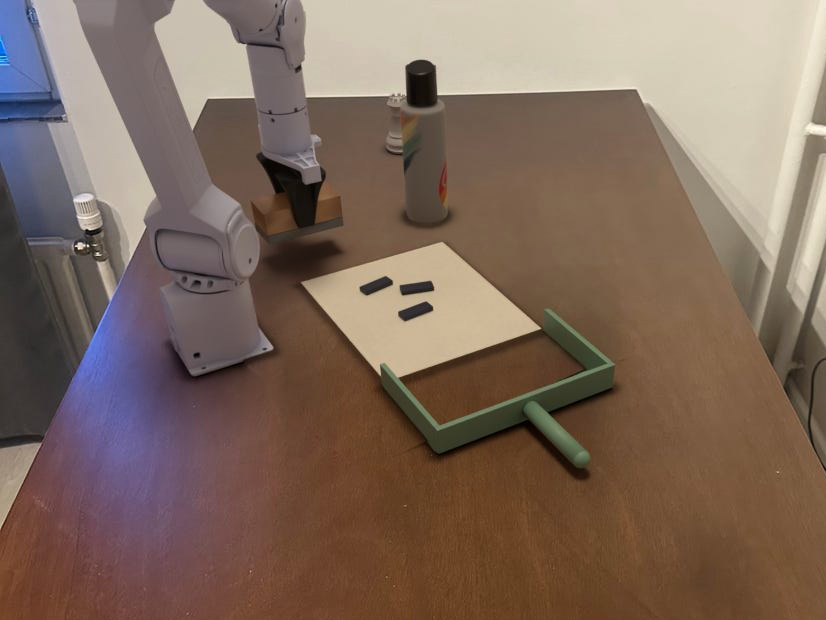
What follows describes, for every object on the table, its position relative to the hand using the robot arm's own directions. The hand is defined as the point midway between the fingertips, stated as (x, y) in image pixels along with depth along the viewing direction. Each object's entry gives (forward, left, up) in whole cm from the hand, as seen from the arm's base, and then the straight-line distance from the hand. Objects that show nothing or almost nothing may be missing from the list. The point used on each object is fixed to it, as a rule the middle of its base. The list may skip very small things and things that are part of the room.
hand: (298, 217), depth 111 cm
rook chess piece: (+26, +24, -6) cm, 36 cm away
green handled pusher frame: (+7, -41, -6) cm, 42 cm away
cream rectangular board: (+7, -18, -6) cm, 20 cm away
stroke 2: (+9, -15, -5) cm, 18 cm away
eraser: (0, 0, -1) cm, 1 cm away
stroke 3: (+6, -19, -5) cm, 21 cm away
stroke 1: (+5, -12, -5) cm, 14 cm away
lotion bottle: (+19, +2, -6) cm, 20 cm away
